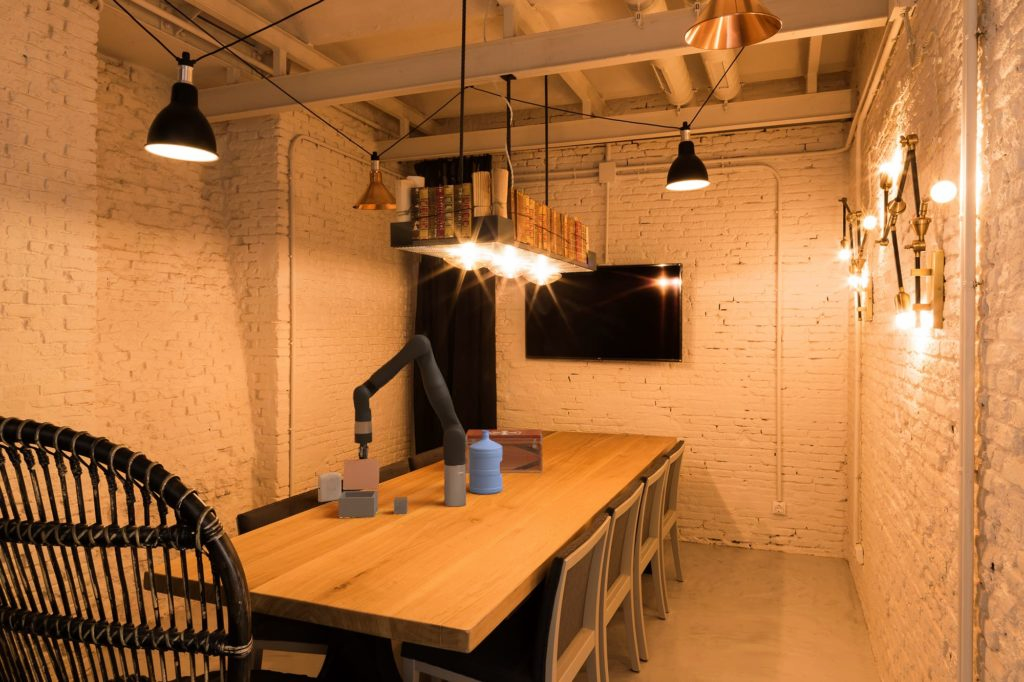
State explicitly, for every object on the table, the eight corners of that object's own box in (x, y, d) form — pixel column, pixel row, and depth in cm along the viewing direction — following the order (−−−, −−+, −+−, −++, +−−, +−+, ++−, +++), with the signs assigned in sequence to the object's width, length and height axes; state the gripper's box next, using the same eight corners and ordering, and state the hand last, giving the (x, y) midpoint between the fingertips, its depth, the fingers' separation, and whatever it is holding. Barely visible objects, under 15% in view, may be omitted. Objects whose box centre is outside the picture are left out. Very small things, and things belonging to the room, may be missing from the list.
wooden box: (543, 473, 354) (543, 435, 354) (464, 473, 355) (464, 435, 355) (542, 465, 375) (541, 429, 374) (468, 465, 375) (467, 429, 375)
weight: (407, 511, 281) (407, 496, 281) (406, 514, 276) (406, 499, 276) (395, 511, 281) (395, 497, 281) (394, 514, 276) (393, 500, 276)
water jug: (483, 496, 305) (483, 434, 304) (462, 490, 317) (461, 430, 316) (509, 491, 315) (509, 430, 315) (488, 485, 327) (487, 427, 327)
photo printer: (339, 497, 304) (339, 470, 304) (342, 499, 301) (342, 471, 301) (316, 501, 299) (316, 473, 299) (319, 503, 295) (319, 474, 295)
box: (377, 509, 284) (377, 490, 283) (374, 517, 272) (374, 497, 271) (343, 510, 283) (343, 491, 282) (338, 518, 271) (338, 498, 270)
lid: (378, 488, 284) (378, 489, 285) (379, 458, 287) (379, 459, 288) (342, 489, 283) (343, 489, 284) (344, 459, 286) (344, 459, 287)
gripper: (369, 433, 285) (370, 474, 286) (374, 429, 299) (374, 468, 299) (351, 434, 285) (352, 475, 285) (356, 429, 298) (357, 468, 298)
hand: (363, 471), depth 292 cm, fingers closed
